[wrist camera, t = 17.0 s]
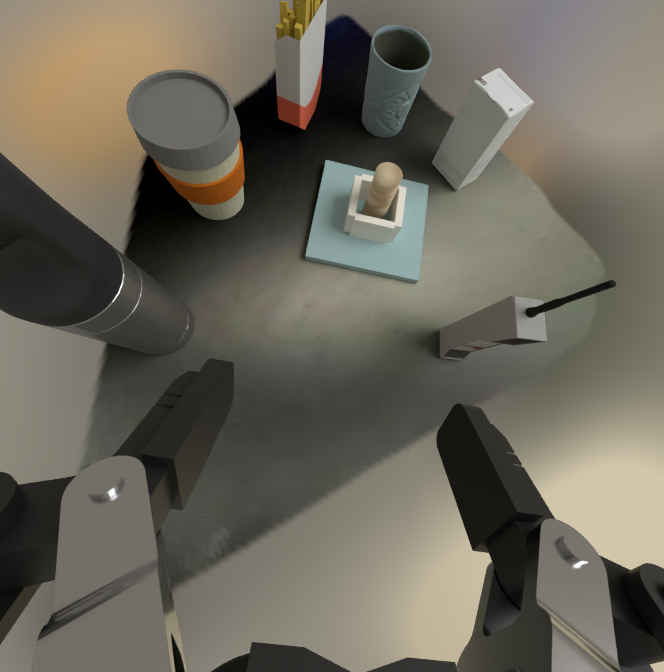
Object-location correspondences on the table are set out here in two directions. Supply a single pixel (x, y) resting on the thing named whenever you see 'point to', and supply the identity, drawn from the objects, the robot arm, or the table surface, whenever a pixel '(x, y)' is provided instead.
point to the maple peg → (382, 190)
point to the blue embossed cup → (393, 78)
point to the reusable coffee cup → (191, 138)
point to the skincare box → (480, 127)
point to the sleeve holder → (367, 225)
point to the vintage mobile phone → (504, 324)
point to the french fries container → (299, 59)
